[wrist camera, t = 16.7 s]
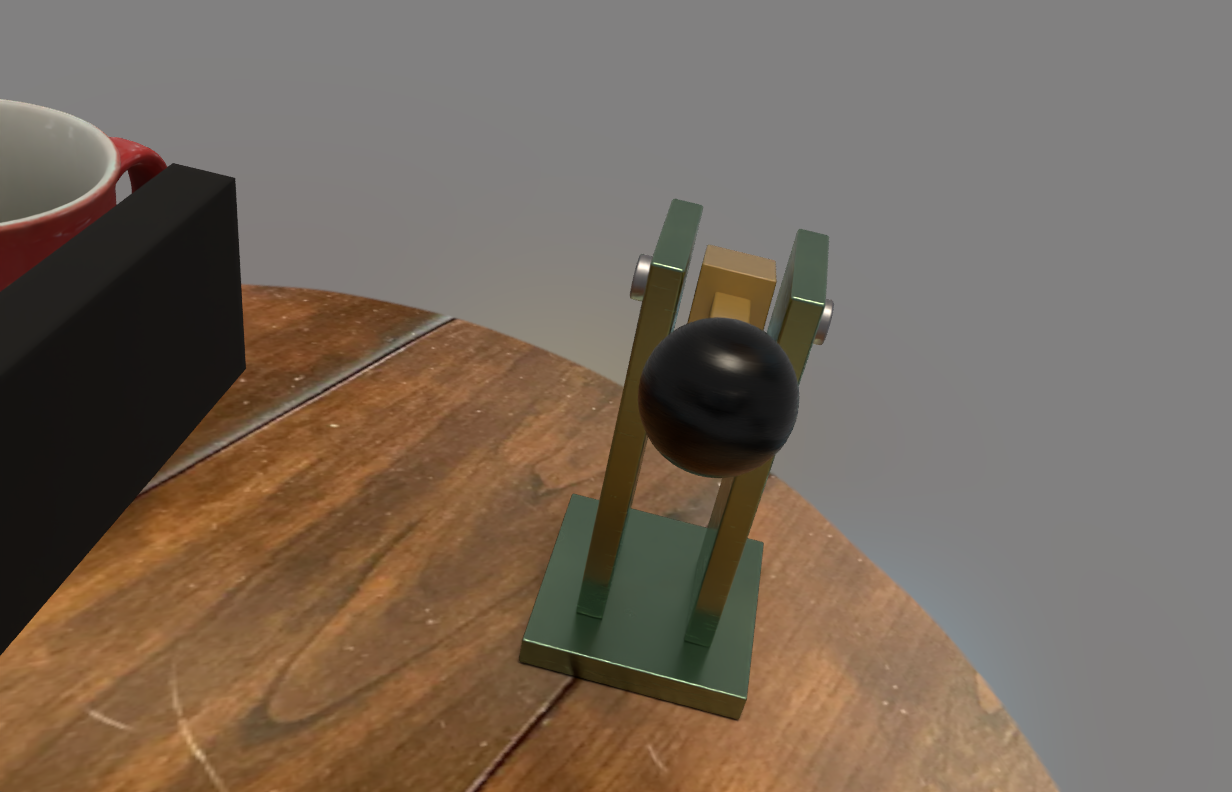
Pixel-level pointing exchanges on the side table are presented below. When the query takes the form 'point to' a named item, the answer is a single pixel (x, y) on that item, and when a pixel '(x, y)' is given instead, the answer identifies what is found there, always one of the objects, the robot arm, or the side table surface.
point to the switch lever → (721, 374)
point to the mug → (57, 181)
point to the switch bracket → (669, 523)
